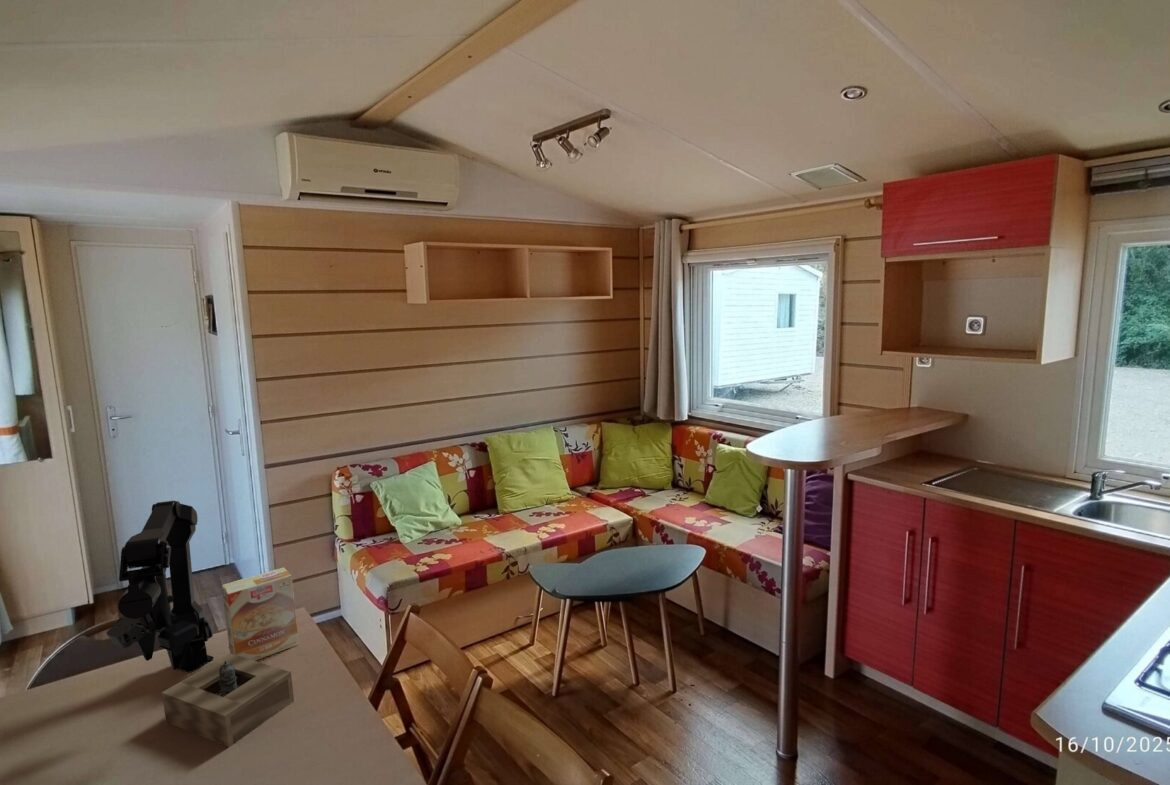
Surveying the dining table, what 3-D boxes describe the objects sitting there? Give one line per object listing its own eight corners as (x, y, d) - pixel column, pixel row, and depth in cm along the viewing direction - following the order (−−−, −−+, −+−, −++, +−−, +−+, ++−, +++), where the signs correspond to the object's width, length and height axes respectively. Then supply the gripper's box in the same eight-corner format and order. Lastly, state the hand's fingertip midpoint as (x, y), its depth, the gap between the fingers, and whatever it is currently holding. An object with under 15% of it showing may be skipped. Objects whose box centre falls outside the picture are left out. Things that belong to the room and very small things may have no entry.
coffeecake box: (236, 668, 157) (227, 594, 154) (229, 656, 162) (220, 584, 159) (300, 644, 167) (292, 574, 163) (291, 634, 172) (283, 565, 169)
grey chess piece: (215, 709, 141) (208, 659, 140) (244, 699, 145) (238, 650, 143) (218, 723, 137) (211, 671, 135) (248, 712, 140) (242, 661, 138)
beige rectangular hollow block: (166, 722, 138) (161, 692, 137) (233, 680, 152) (230, 653, 151) (229, 747, 129) (224, 715, 128) (294, 700, 144) (290, 671, 143)
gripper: (83, 605, 131) (95, 675, 133) (139, 623, 123) (151, 696, 125) (139, 582, 141) (149, 647, 143) (195, 597, 133) (205, 666, 135)
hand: (162, 664), depth 136 cm, fingers open, 9 cm apart
